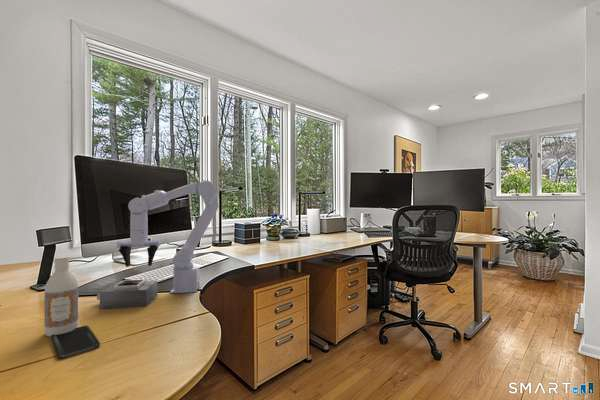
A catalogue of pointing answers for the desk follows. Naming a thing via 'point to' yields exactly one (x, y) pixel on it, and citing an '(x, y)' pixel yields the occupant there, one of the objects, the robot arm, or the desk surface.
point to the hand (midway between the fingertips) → (139, 265)
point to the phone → (74, 342)
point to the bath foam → (61, 299)
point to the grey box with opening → (128, 294)
